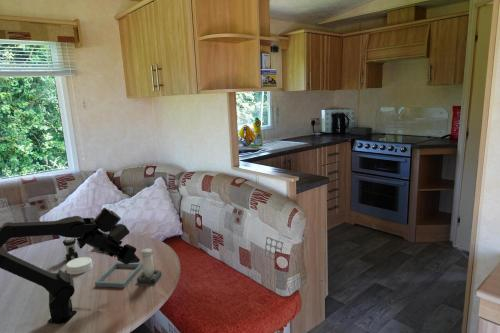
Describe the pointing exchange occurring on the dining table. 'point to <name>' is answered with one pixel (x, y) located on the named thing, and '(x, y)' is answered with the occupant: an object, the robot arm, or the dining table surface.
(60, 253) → the dining table surface
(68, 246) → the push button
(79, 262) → the white round disc
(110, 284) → the parts tray
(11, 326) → the dining table surface
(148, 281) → the grey piece
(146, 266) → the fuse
